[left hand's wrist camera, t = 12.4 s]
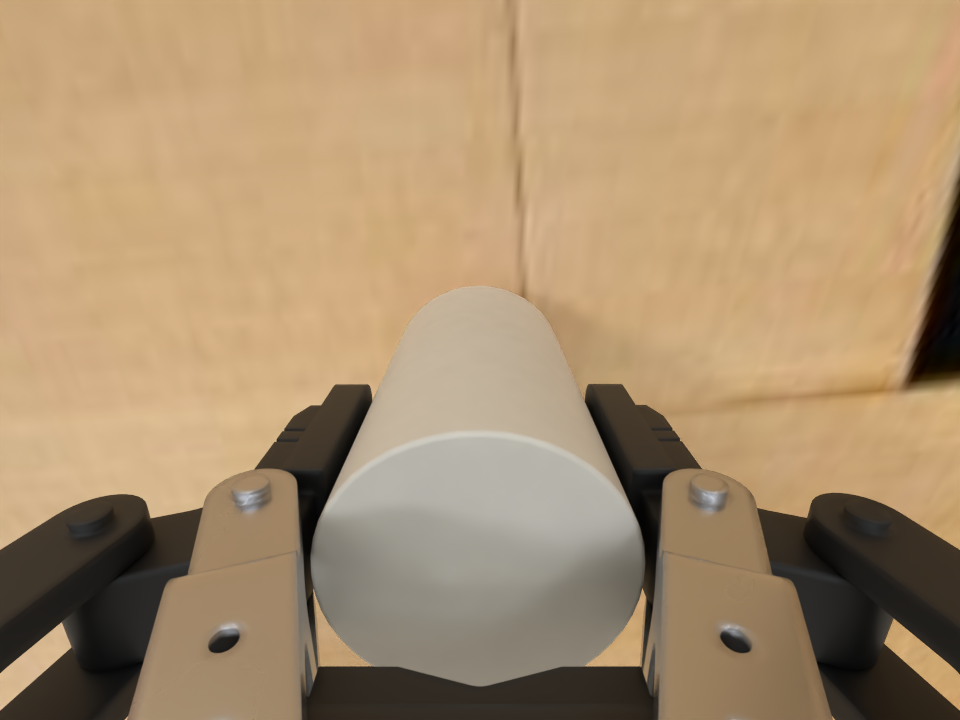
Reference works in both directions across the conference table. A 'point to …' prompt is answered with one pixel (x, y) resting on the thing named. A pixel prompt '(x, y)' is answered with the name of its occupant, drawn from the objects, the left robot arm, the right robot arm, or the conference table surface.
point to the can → (478, 506)
